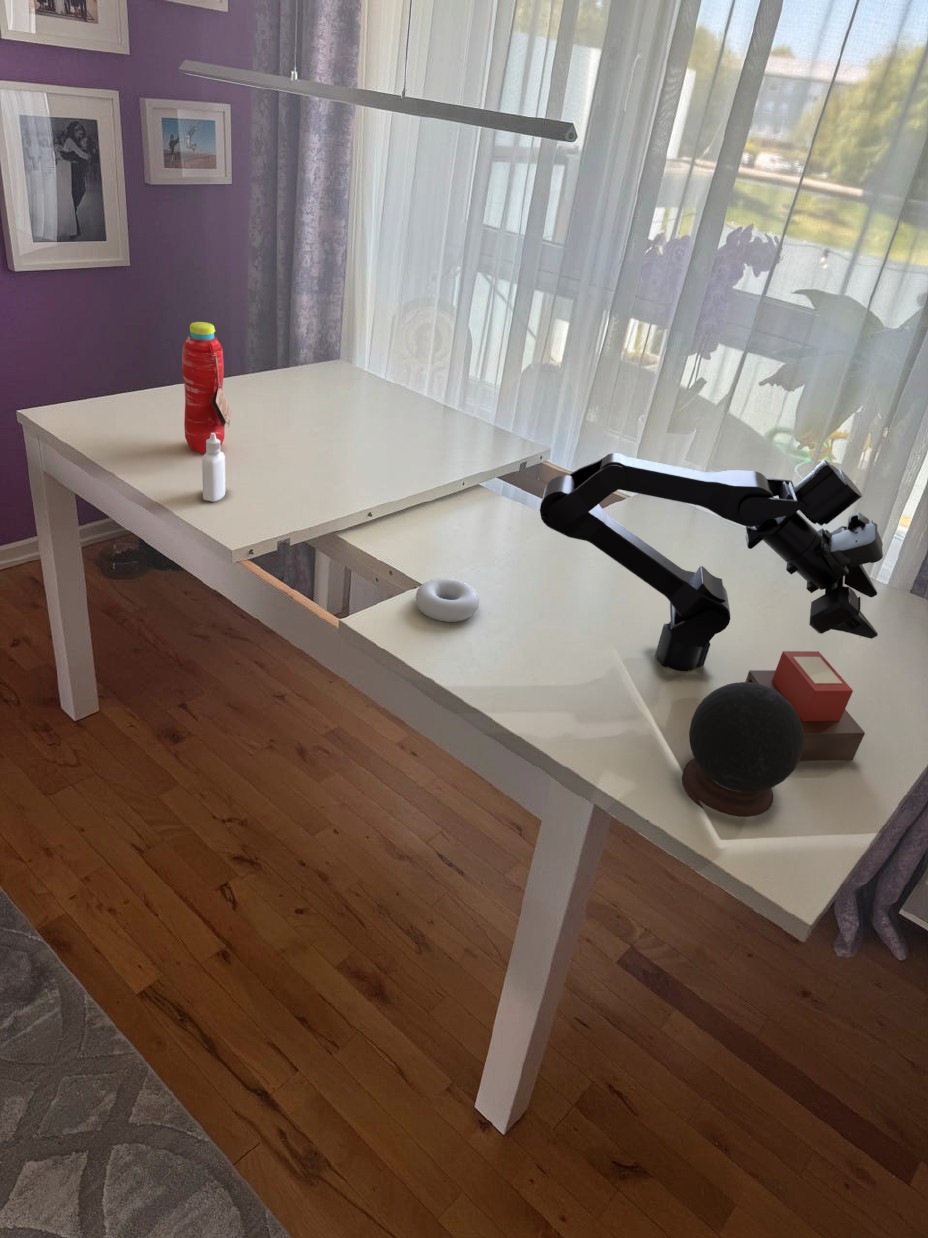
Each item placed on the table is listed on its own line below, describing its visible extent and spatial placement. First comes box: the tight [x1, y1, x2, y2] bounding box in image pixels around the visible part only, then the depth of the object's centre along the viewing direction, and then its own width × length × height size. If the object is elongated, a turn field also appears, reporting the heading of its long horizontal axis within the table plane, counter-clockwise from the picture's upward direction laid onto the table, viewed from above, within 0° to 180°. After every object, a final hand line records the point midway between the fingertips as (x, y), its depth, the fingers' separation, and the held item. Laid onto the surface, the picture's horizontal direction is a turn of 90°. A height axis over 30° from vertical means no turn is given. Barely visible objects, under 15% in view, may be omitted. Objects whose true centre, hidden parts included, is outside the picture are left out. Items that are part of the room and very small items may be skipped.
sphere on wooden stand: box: [681, 681, 804, 818], centre depth 110 cm, size 13×13×15 cm
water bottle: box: [181, 321, 233, 455], centre depth 176 cm, size 12×8×25 cm, turn 46°
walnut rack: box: [744, 669, 866, 762], centre depth 124 cm, size 10×14×5 cm
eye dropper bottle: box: [201, 433, 226, 502], centre depth 162 cm, size 4×6×12 cm
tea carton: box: [772, 650, 854, 721], centre depth 122 cm, size 6×9×5 cm, turn 10°
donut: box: [414, 577, 480, 623], centre depth 141 cm, size 10×3×10 cm
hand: (874, 615), depth 127 cm, fingers open, 9 cm apart
